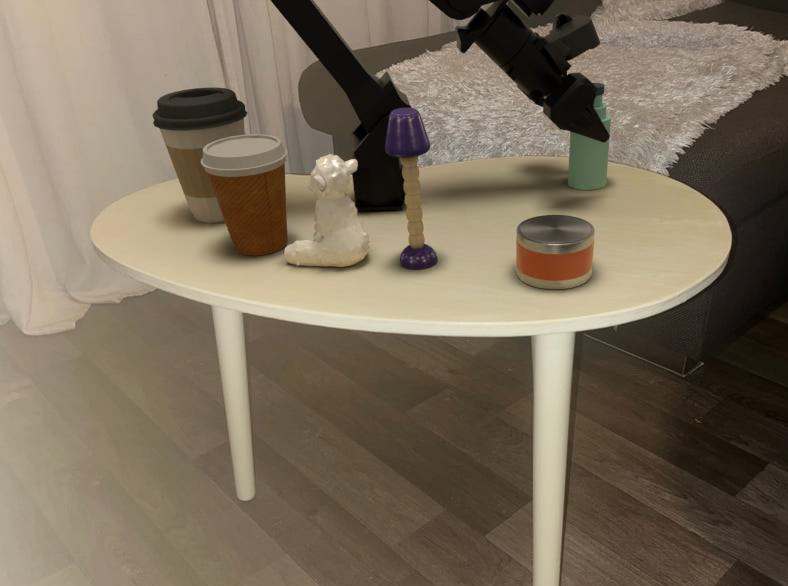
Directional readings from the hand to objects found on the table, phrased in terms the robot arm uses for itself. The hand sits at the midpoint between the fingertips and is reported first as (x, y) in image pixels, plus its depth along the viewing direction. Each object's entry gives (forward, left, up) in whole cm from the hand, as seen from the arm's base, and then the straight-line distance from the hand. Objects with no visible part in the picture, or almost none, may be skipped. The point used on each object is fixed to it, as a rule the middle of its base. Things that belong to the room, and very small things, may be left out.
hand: (596, 129), depth 100 cm
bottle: (-1, 0, -7) cm, 7 cm away
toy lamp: (-23, -24, -7) cm, 34 cm away
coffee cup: (-50, -7, -7) cm, 51 cm away
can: (-8, -28, -7) cm, 30 cm away
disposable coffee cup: (-42, -18, -7) cm, 46 cm away
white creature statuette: (-32, -22, -7) cm, 39 cm away
